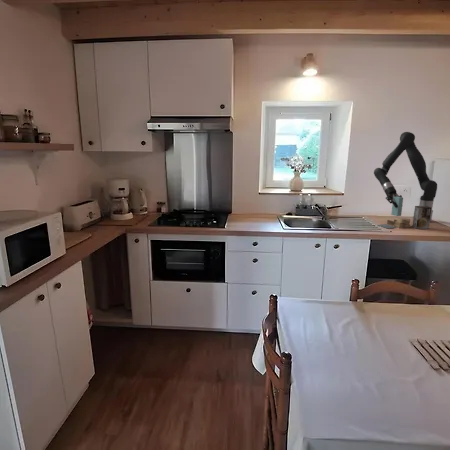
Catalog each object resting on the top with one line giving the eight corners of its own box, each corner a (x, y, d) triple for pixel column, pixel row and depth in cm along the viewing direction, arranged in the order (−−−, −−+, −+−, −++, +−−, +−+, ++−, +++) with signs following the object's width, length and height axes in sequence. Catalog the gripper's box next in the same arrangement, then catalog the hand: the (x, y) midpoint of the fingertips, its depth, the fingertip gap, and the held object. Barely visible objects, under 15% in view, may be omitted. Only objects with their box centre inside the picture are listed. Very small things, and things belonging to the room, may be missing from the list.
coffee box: (424, 227, 244) (427, 205, 240) (428, 229, 237) (432, 207, 233) (411, 226, 244) (414, 205, 241) (415, 228, 238) (418, 207, 234)
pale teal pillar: (395, 214, 252) (397, 196, 248) (401, 215, 246) (403, 197, 243) (391, 214, 251) (393, 196, 247) (397, 216, 245) (399, 197, 242)
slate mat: (386, 225, 249) (386, 224, 249) (396, 228, 240) (396, 227, 240) (377, 225, 247) (377, 224, 247) (387, 228, 238) (387, 227, 238)
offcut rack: (396, 223, 255) (397, 215, 254) (409, 227, 243) (411, 219, 241) (385, 223, 252) (386, 216, 251) (398, 228, 240) (400, 220, 238)
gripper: (384, 186, 248) (394, 204, 240) (399, 185, 252) (410, 203, 244) (378, 192, 255) (388, 210, 246) (393, 191, 258) (403, 209, 250)
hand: (399, 207), depth 245 cm, fingers closed on pale teal pillar, 3 cm apart
